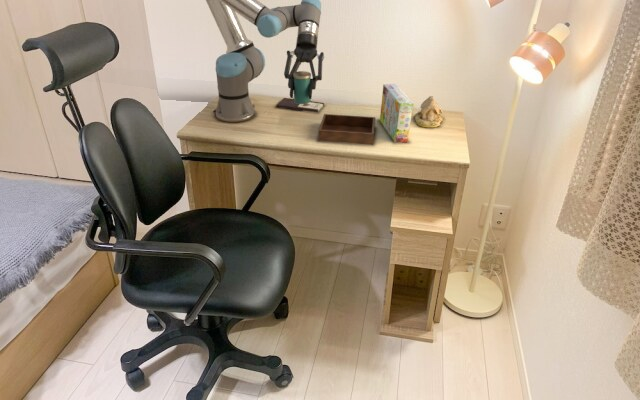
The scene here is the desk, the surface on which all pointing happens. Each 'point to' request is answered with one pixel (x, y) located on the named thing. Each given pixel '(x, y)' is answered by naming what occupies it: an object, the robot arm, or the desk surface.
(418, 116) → the ceramic model
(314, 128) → the desk surface
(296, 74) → the tin
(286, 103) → the chocolate bar
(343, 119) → the dark wooden tray
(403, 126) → the snack box
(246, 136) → the desk surface
